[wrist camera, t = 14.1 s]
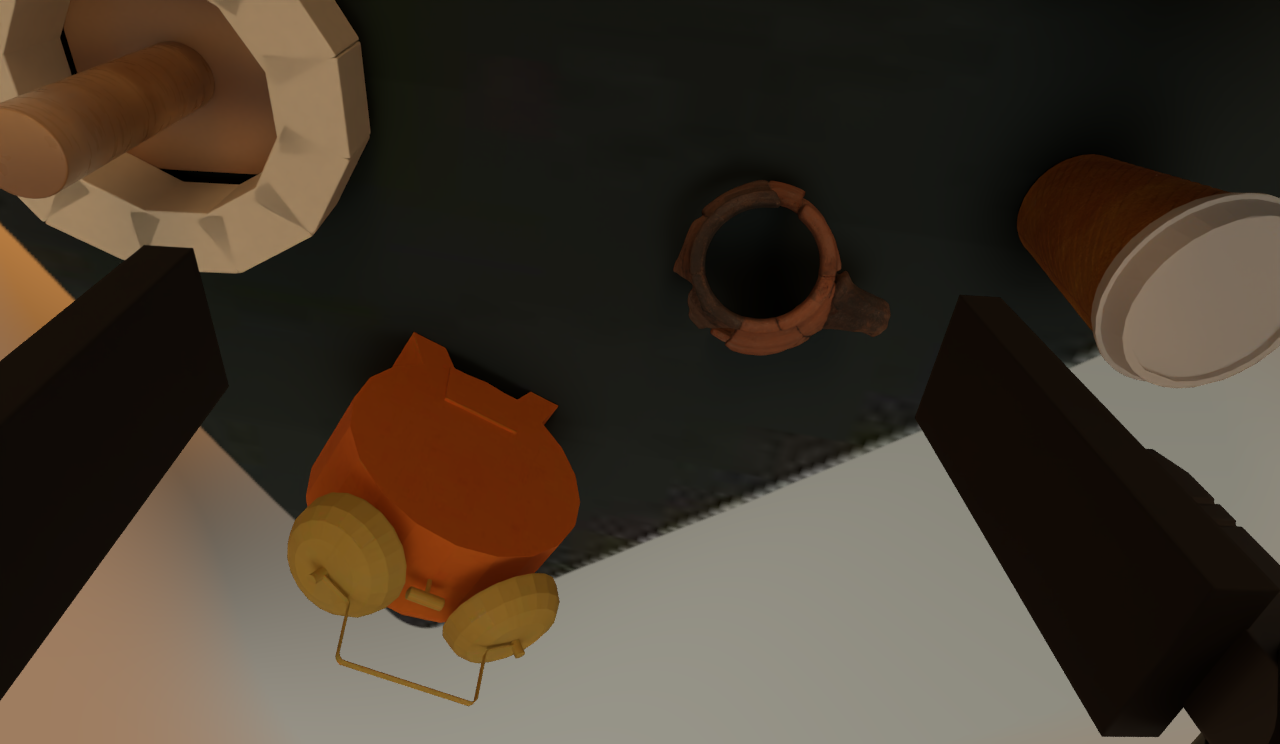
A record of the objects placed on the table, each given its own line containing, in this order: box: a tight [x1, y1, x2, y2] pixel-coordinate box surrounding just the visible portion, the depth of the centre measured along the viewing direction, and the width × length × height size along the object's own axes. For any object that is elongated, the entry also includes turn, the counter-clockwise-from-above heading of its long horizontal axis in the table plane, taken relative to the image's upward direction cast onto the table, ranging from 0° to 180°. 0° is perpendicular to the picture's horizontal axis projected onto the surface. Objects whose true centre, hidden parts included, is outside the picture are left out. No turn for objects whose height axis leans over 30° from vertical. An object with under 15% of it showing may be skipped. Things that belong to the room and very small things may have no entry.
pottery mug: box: [673, 180, 891, 355], centre depth 41 cm, size 12×10×8 cm
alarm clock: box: [287, 332, 580, 706], centre depth 39 cm, size 13×6×20 cm, turn 55°
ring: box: [0, 0, 371, 273], centre depth 33 cm, size 16×16×4 cm
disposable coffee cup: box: [1017, 154, 1280, 388], centre depth 38 cm, size 10×10×12 cm
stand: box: [0, 0, 277, 199], centre depth 30 cm, size 9×9×14 cm
